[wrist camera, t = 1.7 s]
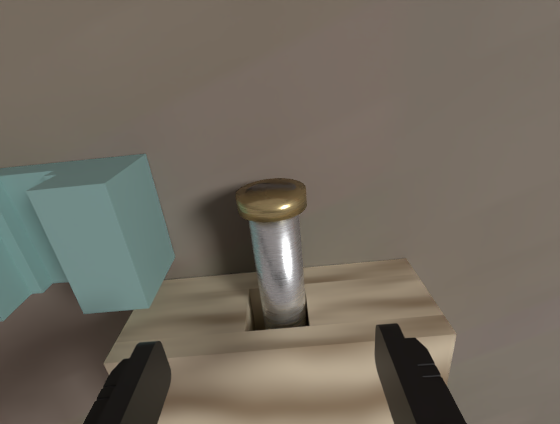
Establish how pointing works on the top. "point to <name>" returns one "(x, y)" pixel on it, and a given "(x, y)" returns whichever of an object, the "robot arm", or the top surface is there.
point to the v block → (83, 233)
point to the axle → (277, 247)
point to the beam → (284, 345)
